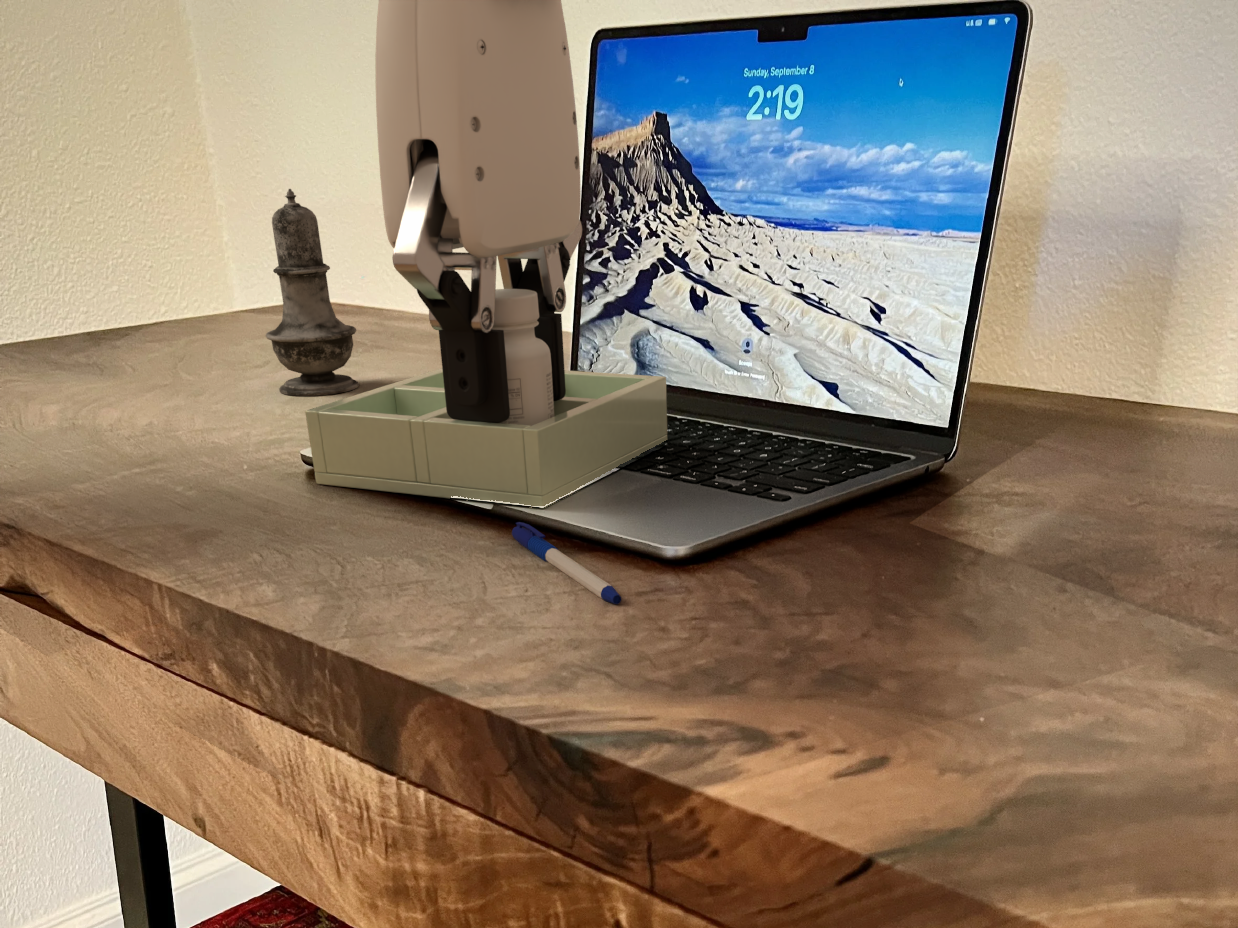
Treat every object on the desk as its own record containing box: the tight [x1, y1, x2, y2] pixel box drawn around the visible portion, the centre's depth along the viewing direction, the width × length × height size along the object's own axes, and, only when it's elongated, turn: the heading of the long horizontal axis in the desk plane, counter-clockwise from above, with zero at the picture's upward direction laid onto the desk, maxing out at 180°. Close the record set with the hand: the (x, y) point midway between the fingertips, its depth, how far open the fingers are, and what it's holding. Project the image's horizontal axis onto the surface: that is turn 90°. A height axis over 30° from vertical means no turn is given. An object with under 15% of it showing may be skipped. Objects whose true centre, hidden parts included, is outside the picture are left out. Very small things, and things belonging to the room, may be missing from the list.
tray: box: [304, 367, 669, 506], centre depth 69 cm, size 13×13×4 cm
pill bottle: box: [492, 288, 554, 426], centre depth 64 cm, size 4×4×8 cm
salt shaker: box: [265, 188, 360, 397], centre depth 87 cm, size 6×6×12 cm
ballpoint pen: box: [511, 521, 622, 605], centre depth 55 cm, size 10×1×1 cm, turn 28°
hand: (507, 404), depth 65 cm, fingers closed on pill bottle, 4 cm apart
